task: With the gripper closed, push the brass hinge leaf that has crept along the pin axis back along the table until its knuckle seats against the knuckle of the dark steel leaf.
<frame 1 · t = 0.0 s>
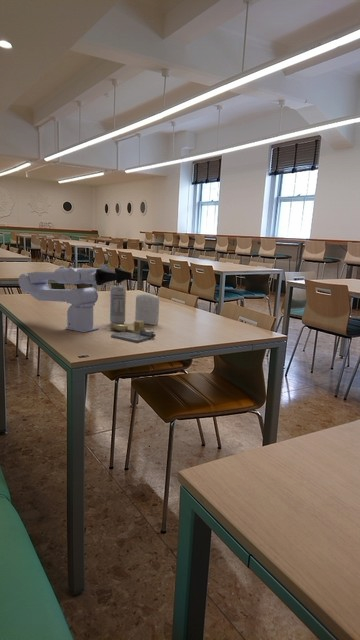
hand: (123, 276, 141), 22 cm above the table, tool horizontal, fingers open, 7 cm apart
photo printer: (146, 323, 171), on the table
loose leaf: (130, 325, 156), point 2 cm above the table, slide at 7.0 cm
pin leaf: (139, 335, 150), on the table
energy drink can: (117, 323, 168), on the table
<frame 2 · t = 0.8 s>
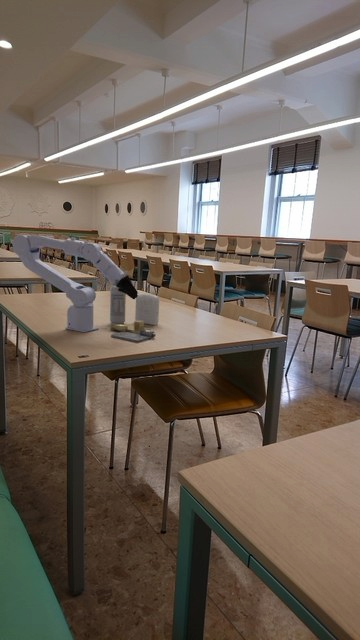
hand: (136, 296, 149), 14 cm above the table, tool tilted 50°, fingers open, 7 cm apart
nothing on the table moved.
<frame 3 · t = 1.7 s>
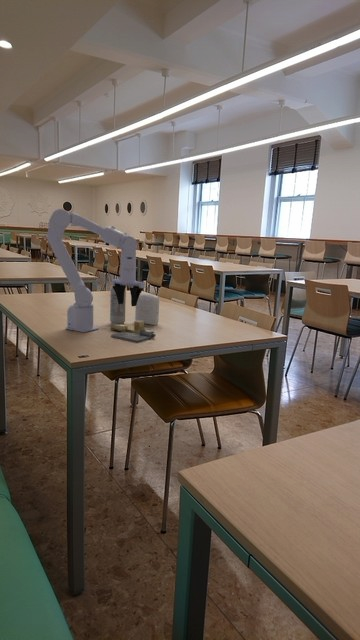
hand: (127, 304, 157), 9 cm above the table, tool pointing down, fingers open, 6 cm apart
nothing on the table moved.
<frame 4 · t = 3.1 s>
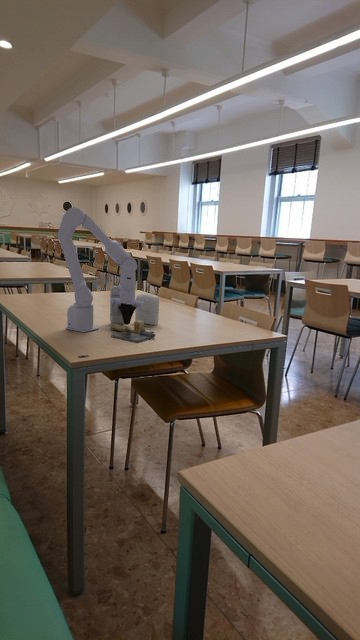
hand: (126, 323, 159), 2 cm above the table, tool pointing down, fingers closed
nothing on the table moved.
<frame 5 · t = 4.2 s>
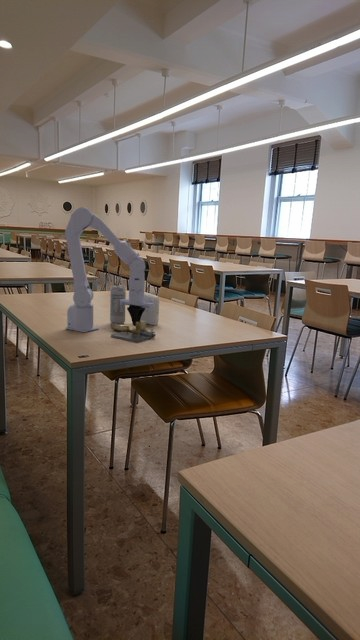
hand: (135, 325, 157), 2 cm above the table, tool pointing down, fingers closed
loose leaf: (132, 325, 156), point 2 cm above the table, slide at 6.3 cm, touching gripper
everything else where it was.
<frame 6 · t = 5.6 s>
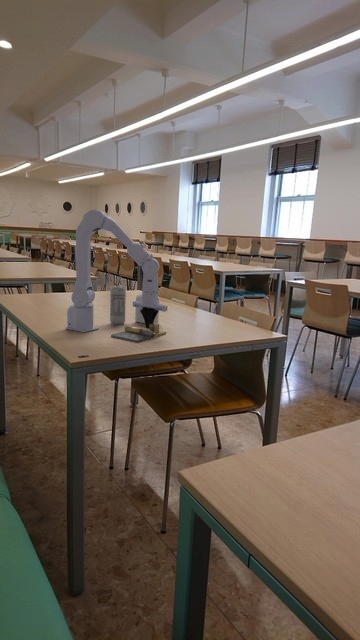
hand: (149, 328, 153), 2 cm above the table, tool pointing down, fingers closed
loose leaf: (145, 328, 153), point 2 cm above the table, slide at 0.0 cm, touching gripper
everything else where it was.
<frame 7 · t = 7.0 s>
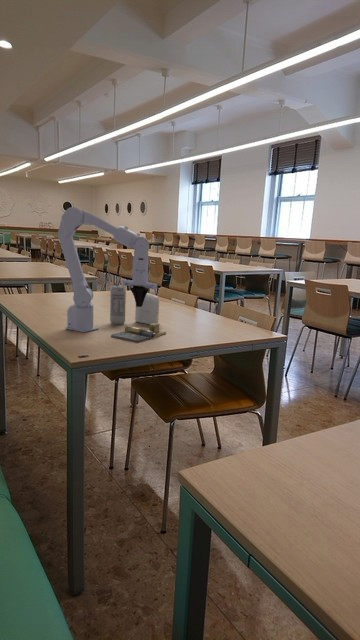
hand: (139, 306, 156), 9 cm above the table, tool pointing down, fingers closed
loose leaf: (145, 328, 153), point 2 cm above the table, slide at 0.0 cm
everything else where it was.
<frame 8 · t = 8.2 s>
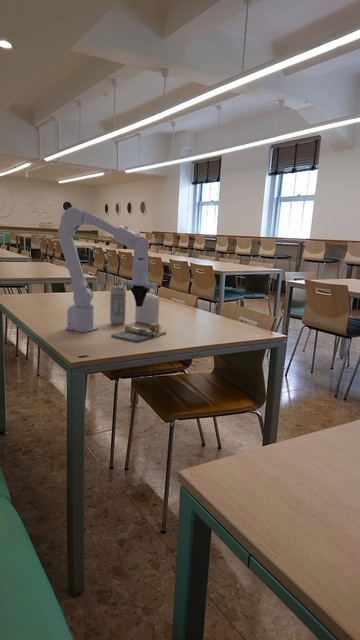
hand: (139, 306, 156), 9 cm above the table, tool pointing down, fingers closed
nothing on the table moved.
at the end: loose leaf slide at 0.0 cm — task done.
